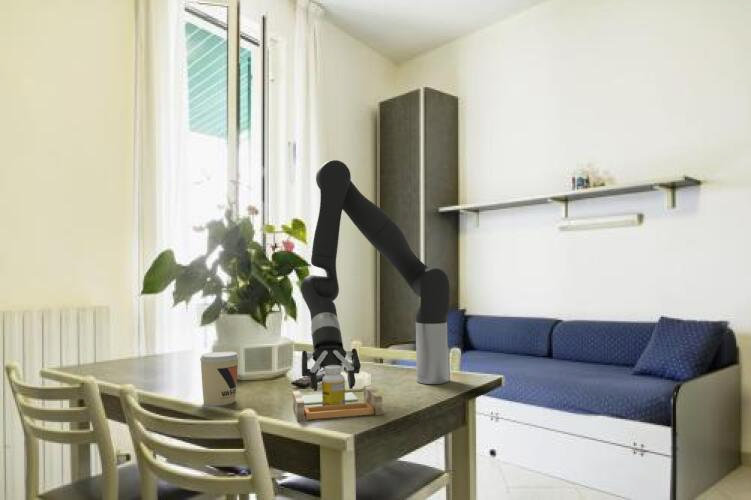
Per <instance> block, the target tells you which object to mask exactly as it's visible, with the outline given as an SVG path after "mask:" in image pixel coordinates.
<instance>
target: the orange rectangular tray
mask: <svg viewBox="0 0 751 500" xmlns="http://www.w3.org/2000/svg"><path fill="white" fill-rule="evenodd" d="M371 416H374V413H373V407H372V406H371V405H370V404H369V403H364V402H357V403H345V404H341V405H328V406H323V405H318V406H317V405H316V406H306V407H305V406H304V420H305V421H306V422H310V421H320V420H321V421H322V420H323V421H324V420H333V419H335V420H336V419H347V418H357V417H360V418H361V417H371Z"/></svg>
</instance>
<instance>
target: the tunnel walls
mask: <svg viewBox="0 0 751 500" xmlns="http://www.w3.org/2000/svg"><path fill="white" fill-rule="evenodd" d="M291 396H292V410H293V414H294V416H295V419H296V422H298V423H299V422H301V423H302V422H305V416H304V407H305V405H304V401H303V399H302V396H303V395H301V392H300V390H292V395H291ZM363 403H369V404H370V405H371V406H372V407H373V415H375V416H382V415H383V397H382V395H381V394H380V393H378V392H377V391H376V390H375V389H374V388H373V387H372V386H370V385H363Z"/></svg>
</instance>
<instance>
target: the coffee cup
mask: <svg viewBox="0 0 751 500" xmlns="http://www.w3.org/2000/svg"><path fill="white" fill-rule="evenodd" d="M199 360H200V368H201V369H200V370H201V387H202V399H203V404H204V405H205V406H218V407H219V406H226V405H231V404H233V403H235V402H236V398H237V381H238V369H239V367H238V366H239V365H238V364H239V354H238V352H236V351H214V352H207V353H204V354H203V353H202V355H201V357H200V359H199Z"/></svg>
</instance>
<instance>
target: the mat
mask: <svg viewBox="0 0 751 500" xmlns="http://www.w3.org/2000/svg"><path fill="white" fill-rule="evenodd" d="M301 396H302V399H303V401H304V406H306V405H318V404H320V405H321V404H322V393H320V394H309V395H308V394H307V395H301ZM358 401H359V399H358V397H357V396H356V395H355V394H354V393H353V392H352V391H351V392H345V403H346V402H358Z"/></svg>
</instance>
